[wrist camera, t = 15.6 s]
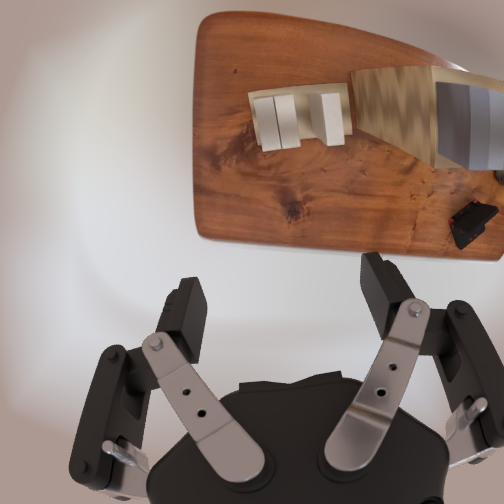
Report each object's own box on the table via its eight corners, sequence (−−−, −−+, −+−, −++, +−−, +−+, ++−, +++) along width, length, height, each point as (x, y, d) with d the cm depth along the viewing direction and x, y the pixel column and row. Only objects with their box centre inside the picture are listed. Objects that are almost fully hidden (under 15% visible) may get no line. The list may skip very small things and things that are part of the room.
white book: (307, 92, 39) (321, 94, 31) (322, 91, 39) (339, 92, 30) (313, 134, 43) (327, 146, 34) (327, 132, 43) (344, 144, 34)
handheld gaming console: (456, 248, 54) (478, 273, 46) (443, 210, 49) (469, 233, 41) (482, 226, 51) (506, 248, 42) (472, 187, 46) (500, 207, 38)
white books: (247, 92, 40) (245, 93, 31) (346, 82, 38) (369, 82, 29) (257, 144, 44) (258, 160, 36) (351, 134, 43) (375, 147, 34)
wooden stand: (350, 71, 37) (464, 66, 12) (421, 74, 36) (550, 94, 11) (356, 128, 42) (464, 188, 18) (424, 126, 41) (545, 184, 16)
